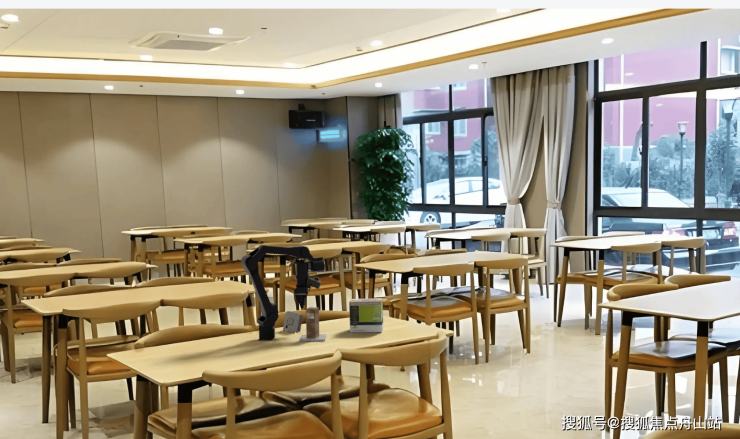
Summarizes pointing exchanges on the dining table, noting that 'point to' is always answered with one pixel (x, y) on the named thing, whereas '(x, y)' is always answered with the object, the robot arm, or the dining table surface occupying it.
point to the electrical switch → (292, 321)
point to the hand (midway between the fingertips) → (303, 306)
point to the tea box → (366, 315)
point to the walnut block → (312, 322)
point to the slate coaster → (320, 338)
